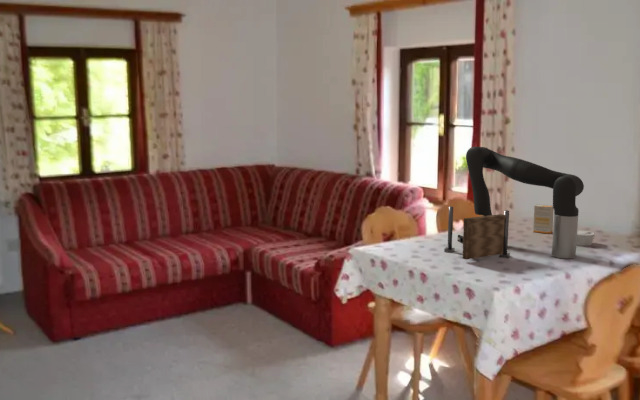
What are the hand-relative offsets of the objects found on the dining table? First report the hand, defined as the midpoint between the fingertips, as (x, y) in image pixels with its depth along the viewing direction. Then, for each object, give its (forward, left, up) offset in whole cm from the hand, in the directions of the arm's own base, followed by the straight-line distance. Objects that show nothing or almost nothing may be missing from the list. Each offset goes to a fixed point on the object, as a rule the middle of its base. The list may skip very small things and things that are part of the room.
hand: (468, 243), depth 262 cm
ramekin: (-60, +25, -7) cm, 66 cm away
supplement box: (-74, +3, -7) cm, 75 cm away
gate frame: (-13, -2, -7) cm, 15 cm away
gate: (-6, +4, -5) cm, 9 cm away
